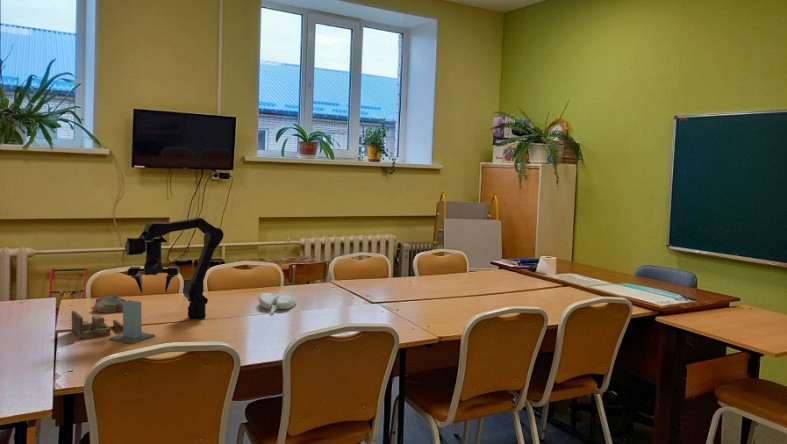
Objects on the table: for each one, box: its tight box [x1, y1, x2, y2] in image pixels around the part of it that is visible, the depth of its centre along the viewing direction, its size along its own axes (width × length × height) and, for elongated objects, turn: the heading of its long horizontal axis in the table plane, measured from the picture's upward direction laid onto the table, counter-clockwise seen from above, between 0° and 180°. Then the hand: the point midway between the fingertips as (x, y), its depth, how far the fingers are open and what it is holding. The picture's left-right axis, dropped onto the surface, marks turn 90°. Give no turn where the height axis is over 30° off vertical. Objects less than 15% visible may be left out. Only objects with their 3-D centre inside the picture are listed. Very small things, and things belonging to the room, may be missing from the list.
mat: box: [108, 331, 156, 345], centre depth 215 cm, size 11×11×1 cm
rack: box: [71, 310, 123, 340], centre depth 220 cm, size 15×12×8 cm
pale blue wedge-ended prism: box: [122, 299, 143, 338], centre depth 214 cm, size 3×6×13 cm, turn 67°
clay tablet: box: [94, 294, 127, 314], centre depth 257 cm, size 14×5×20 cm
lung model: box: [258, 292, 297, 316], centre depth 266 cm, size 7×17×25 cm
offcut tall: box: [91, 314, 105, 330], centre depth 220 cm, size 3×5×6 cm, turn 41°
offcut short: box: [83, 320, 91, 332], centre depth 217 cm, size 3×5×4 cm, turn 42°
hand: (153, 291), depth 233 cm, fingers open, 9 cm apart
